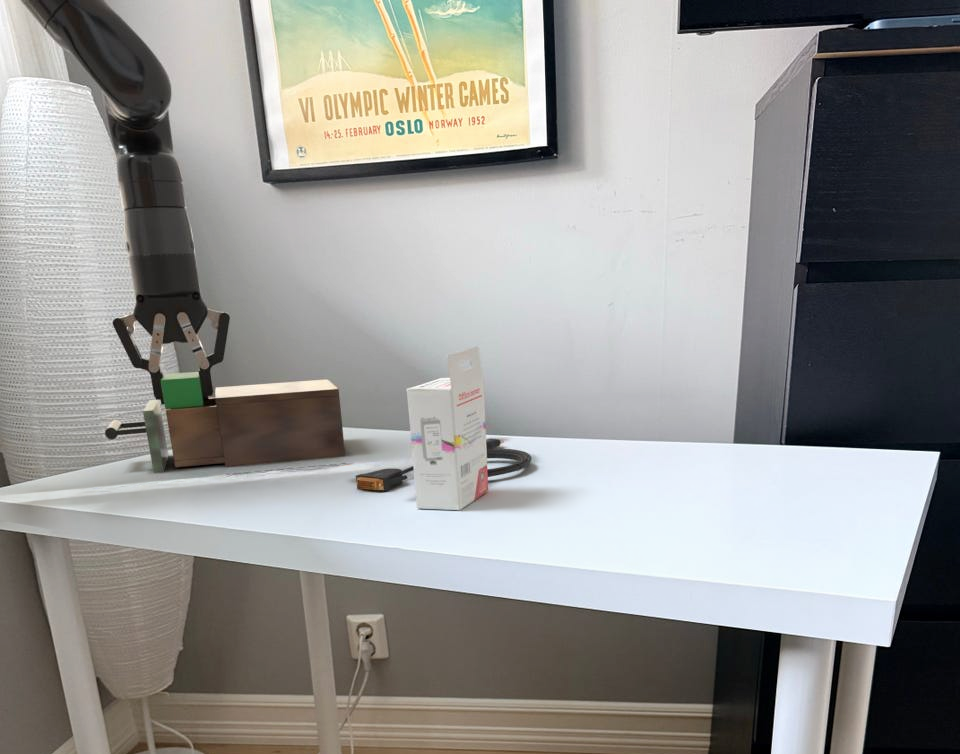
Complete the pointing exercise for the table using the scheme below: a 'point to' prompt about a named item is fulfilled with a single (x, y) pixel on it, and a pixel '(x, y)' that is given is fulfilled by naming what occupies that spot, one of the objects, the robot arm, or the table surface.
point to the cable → (393, 477)
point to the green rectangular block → (182, 390)
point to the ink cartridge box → (449, 435)
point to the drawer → (178, 434)
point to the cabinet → (280, 422)
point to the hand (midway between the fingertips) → (185, 401)
